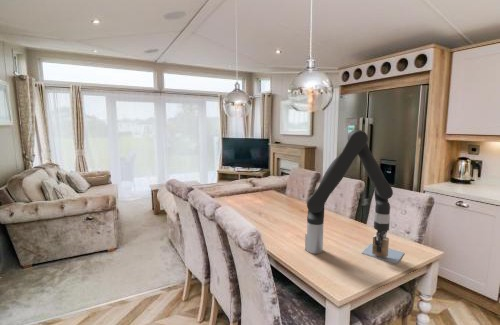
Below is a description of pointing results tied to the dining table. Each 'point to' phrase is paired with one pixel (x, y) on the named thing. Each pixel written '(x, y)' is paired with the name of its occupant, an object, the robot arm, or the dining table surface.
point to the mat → (392, 256)
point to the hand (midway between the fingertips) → (380, 250)
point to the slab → (383, 250)
